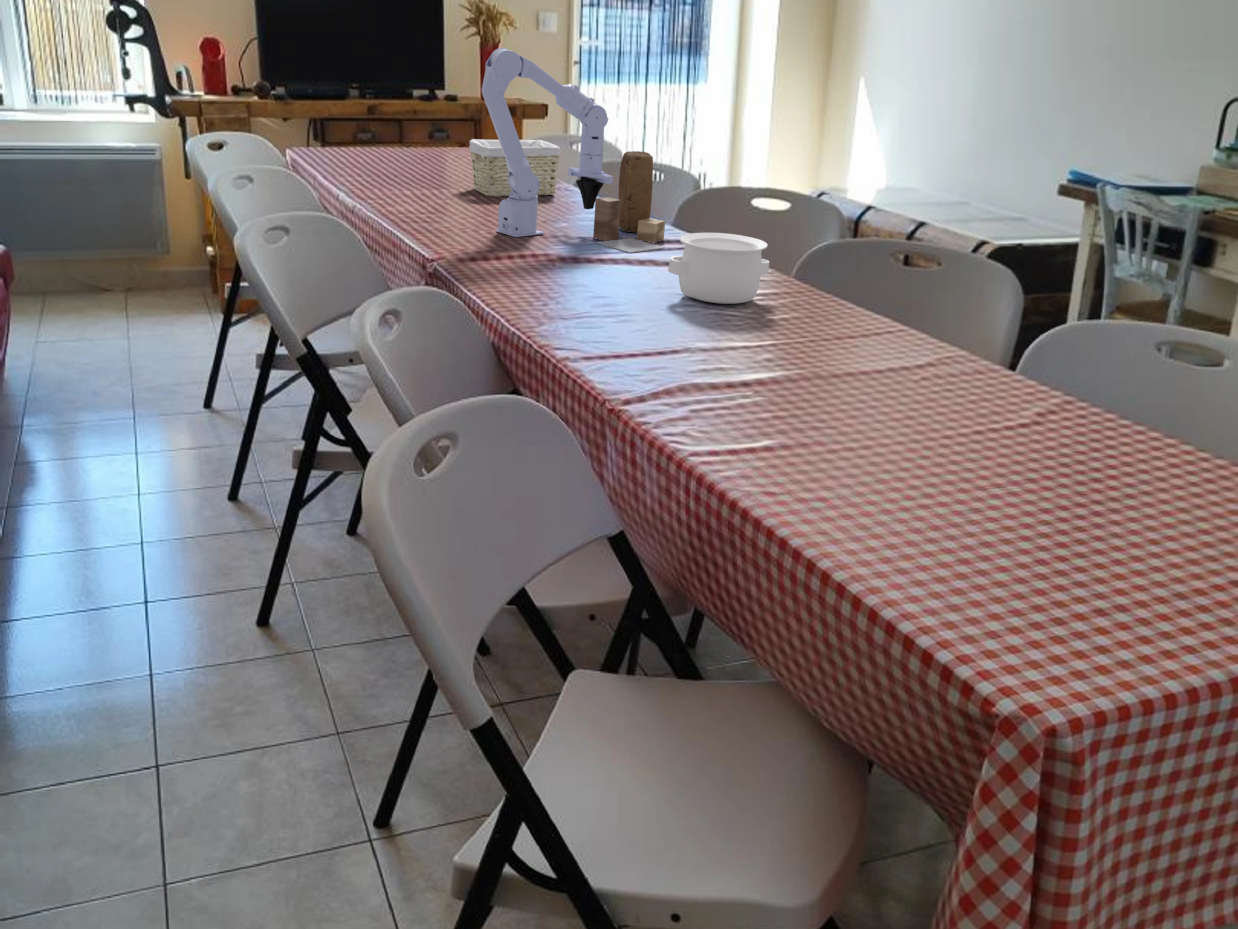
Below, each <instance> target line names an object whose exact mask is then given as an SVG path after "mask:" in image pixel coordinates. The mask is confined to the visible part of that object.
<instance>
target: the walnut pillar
mask: <svg viewBox="0 0 1238 929" xmlns="http://www.w3.org/2000/svg"><path fill="white" fill-rule="evenodd" d="M620 208H621V200H619V198H618V199H617V198H614V197H613V198H612V197H610V196H609V197H608V196H607V197H596V200H595V204H594V220H593V235H592V236H593V237H592V238H593V239H594V238H596V239H595V240H597V239H600V240H599V241H601V240H603V241H602V242H604V241H611V240H619V239H620V238H619V237H620V236H619V234H620V227H619V223H620Z"/></svg>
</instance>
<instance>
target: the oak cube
mask: <svg viewBox="0 0 1238 929" xmlns="http://www.w3.org/2000/svg"><path fill="white" fill-rule="evenodd" d="M665 228H666V221H665V220H661V219H653V218H651V217H650V218H647V219H643V220H639V221H638V233H636V236H637V237H636V240H637V239H638V240H643V241H644V242H645V241H650V242H656V241H660V240H665ZM650 242H649V243H650ZM660 242H661V241H660Z"/></svg>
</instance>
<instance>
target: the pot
mask: <svg viewBox="0 0 1238 929" xmlns="http://www.w3.org/2000/svg"><path fill="white" fill-rule="evenodd" d="M679 241H680V243H682V244H683V245H684V250H683V253H682V255H674V256H671V257H670V259H669V263H668V269H667V272H668V273H670V274H673V275H676V276H678V282H679V287H680V292H681V293H682V294H683V295H685V296H686V297H689V298H693V299H695V300H699V301H703V302H706V303H707V302H708V303H713V304H723V305H724V304H726V305H728V304H730V305H732V304H733V305H735V304H741V303H746V302H748V303H749V302H751V301H752V300H753V299H755V297H756V295H757V292H758V290H759V288H760V283H761V276H763V275H767V274H770V273H769V271H770V261H769V260H767V259H765V258H762V251H763V250H766V249H768V247H769V246H768V243H767V242H765V241H764V240H762V239H759V238H756V237H751V236H746V235H741V234H736V233H735V234H734V233H724V232H693V233H687V234H683V235H681V236H679Z"/></svg>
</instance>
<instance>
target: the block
mask: <svg viewBox="0 0 1238 929" xmlns="http://www.w3.org/2000/svg"><path fill="white" fill-rule="evenodd" d="M653 176H654V157H653V155H651V154H650V153H649V152H646V151H637V150H636V151H628V150H627V151H626V152H625V153H623V156H622V159H621V162H620V166H619V176H618V200H621V208H620V223H619V229H620V230H622V231H624V232H627V233H635V234H637V233H638V221H639V220H643V219H647V218H650V219H651V212H652V211H651V210H652V200H653V183H654V182H653V180H654V179H653Z"/></svg>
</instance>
